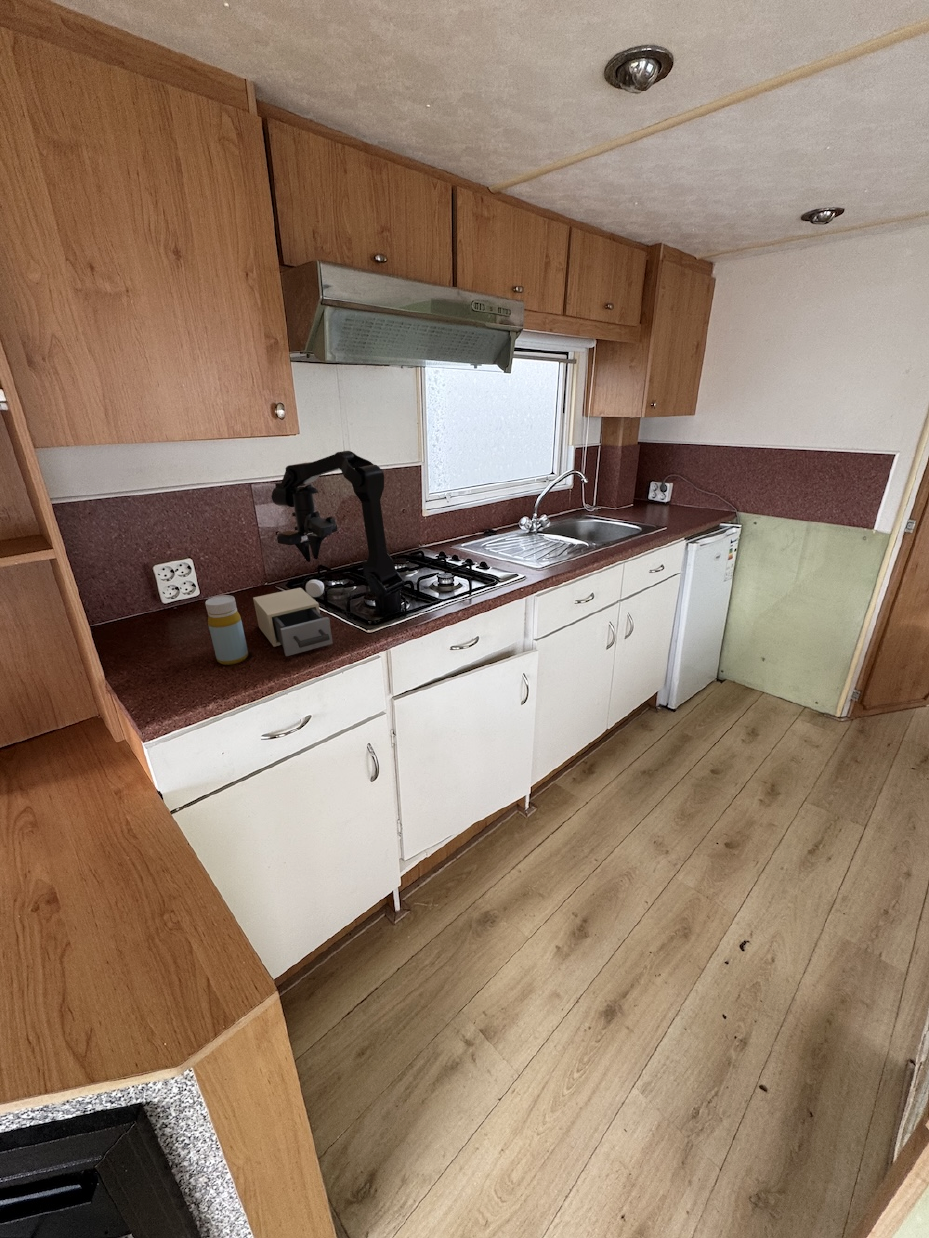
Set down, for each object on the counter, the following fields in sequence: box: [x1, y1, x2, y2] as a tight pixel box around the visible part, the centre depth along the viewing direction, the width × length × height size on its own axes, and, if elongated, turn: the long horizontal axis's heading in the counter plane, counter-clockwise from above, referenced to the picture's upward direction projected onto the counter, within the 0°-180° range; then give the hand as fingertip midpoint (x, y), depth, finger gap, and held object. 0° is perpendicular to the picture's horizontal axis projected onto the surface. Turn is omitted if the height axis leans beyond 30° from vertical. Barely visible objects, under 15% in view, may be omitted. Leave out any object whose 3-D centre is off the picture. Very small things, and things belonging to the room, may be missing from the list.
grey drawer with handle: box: [272, 608, 333, 657], centre depth 130 cm, size 19×11×7 cm, turn 33°
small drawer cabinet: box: [252, 587, 321, 648], centre depth 139 cm, size 15×13×9 cm
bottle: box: [204, 594, 249, 666], centre depth 124 cm, size 7×7×15 cm
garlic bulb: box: [305, 579, 325, 598], centre depth 164 cm, size 6×6×5 cm
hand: (312, 560), depth 161 cm, fingers open, 3 cm apart
